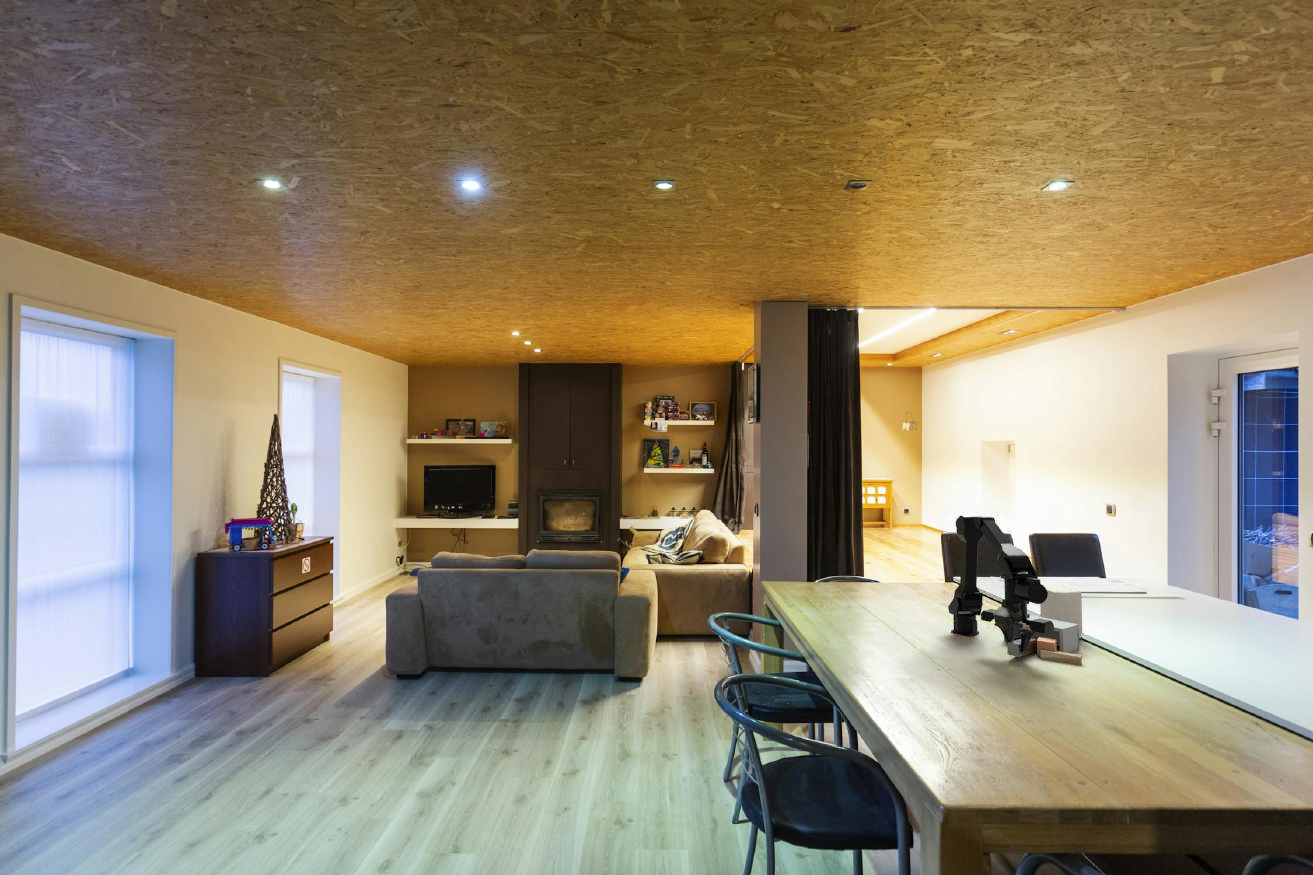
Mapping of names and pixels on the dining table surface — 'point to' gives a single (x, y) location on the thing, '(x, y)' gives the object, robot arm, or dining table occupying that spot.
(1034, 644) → the grey rectangular bar
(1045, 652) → the rod
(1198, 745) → the dining table surface
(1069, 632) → the cubby
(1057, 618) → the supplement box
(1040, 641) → the block
